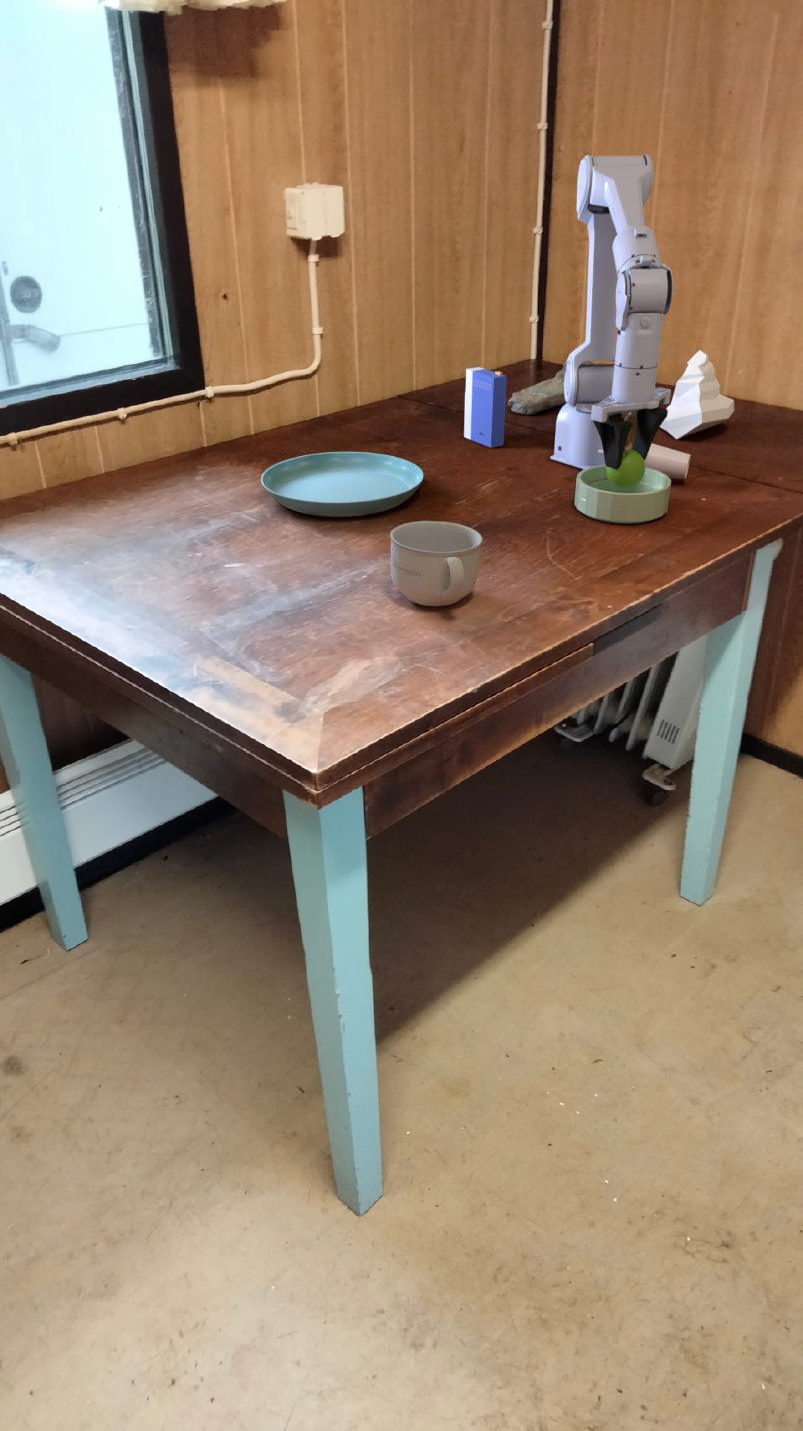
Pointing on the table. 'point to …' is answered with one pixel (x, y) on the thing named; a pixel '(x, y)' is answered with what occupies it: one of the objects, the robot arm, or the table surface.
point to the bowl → (622, 496)
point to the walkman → (485, 406)
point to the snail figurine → (628, 461)
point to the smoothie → (666, 461)
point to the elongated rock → (541, 394)
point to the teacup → (434, 561)
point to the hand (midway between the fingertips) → (625, 462)
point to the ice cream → (697, 400)
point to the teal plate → (342, 483)
